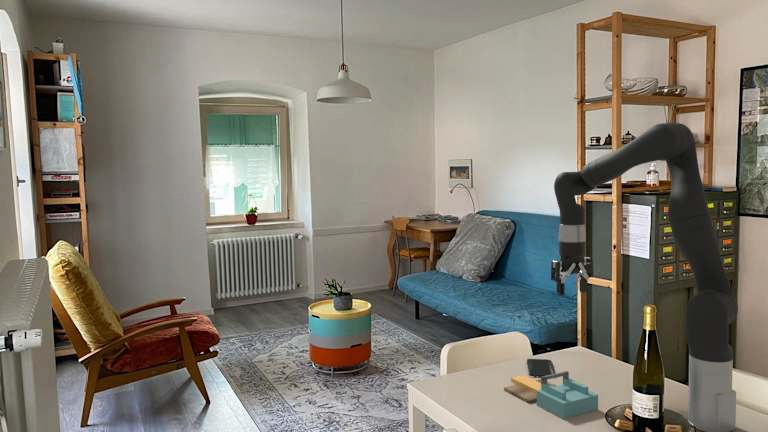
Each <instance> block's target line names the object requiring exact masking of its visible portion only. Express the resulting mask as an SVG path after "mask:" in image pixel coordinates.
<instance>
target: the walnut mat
mask: <svg viewBox="0 0 768 432" xmlns="http://www.w3.org/2000/svg"><path fill="white" fill-rule="evenodd" d="M534 380H535V379H534ZM535 381H537V382H540V383H541V378H540V379H536V380H535ZM547 383H548V384H550V385H552V386H554V387H555V386H557V384H554V383H552V382H549V381H548V380H547ZM503 391H504V392H507V393H508V394H511V395H512V396H514V397H516V398H517V399H519V400H522V401H523V402H525V403H528V404H532V403H535V402H536V403H537V394H535V393H533V392H531V391H529V390H527V389H525V388H523V387H521V386H519V385H517V384H515V385H510V386H505V387H503Z"/></svg>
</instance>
